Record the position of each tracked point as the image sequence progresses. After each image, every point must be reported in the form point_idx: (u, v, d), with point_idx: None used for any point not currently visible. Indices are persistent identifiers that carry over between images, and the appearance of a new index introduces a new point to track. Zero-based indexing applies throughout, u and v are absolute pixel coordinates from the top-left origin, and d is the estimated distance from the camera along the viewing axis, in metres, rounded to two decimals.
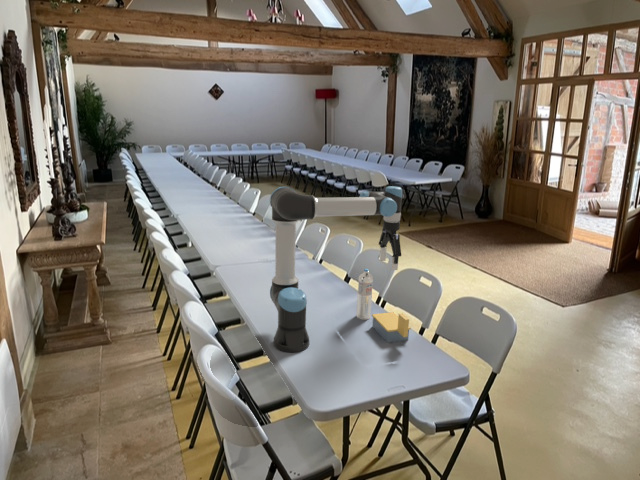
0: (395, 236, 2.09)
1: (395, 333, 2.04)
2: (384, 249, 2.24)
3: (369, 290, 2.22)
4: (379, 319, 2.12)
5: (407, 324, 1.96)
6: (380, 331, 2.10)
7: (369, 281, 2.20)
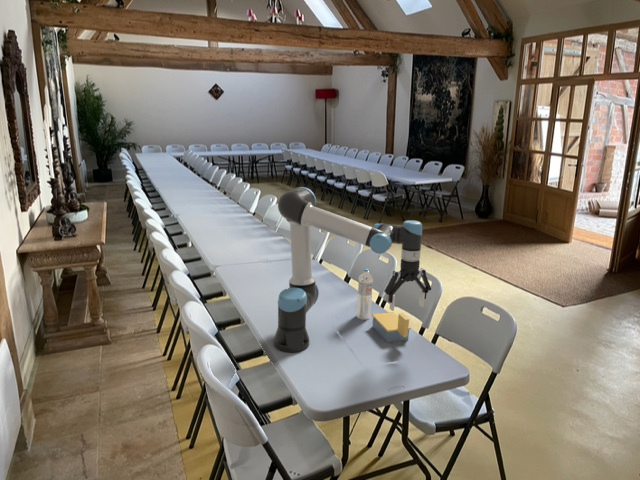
0: (393, 272, 1.91)
1: (395, 333, 2.04)
2: (421, 293, 1.96)
3: (369, 290, 2.22)
4: (379, 319, 2.12)
5: (407, 324, 1.96)
6: (380, 331, 2.10)
7: (369, 281, 2.20)
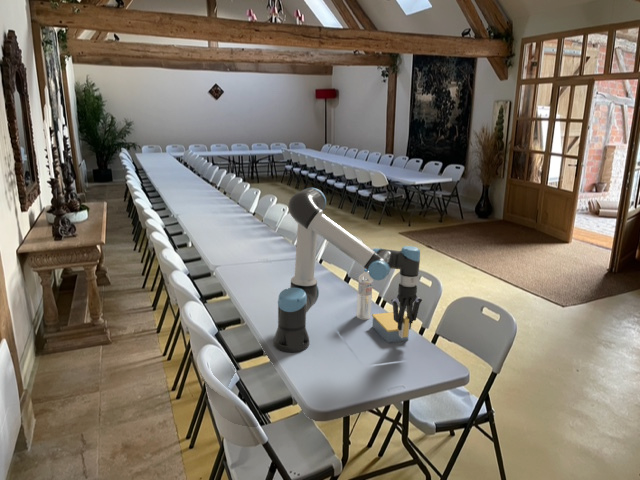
0: (392, 302, 1.94)
1: (395, 333, 2.04)
2: None
3: (369, 290, 2.22)
4: (379, 319, 2.12)
5: (407, 324, 1.96)
6: (380, 331, 2.10)
7: (369, 281, 2.20)
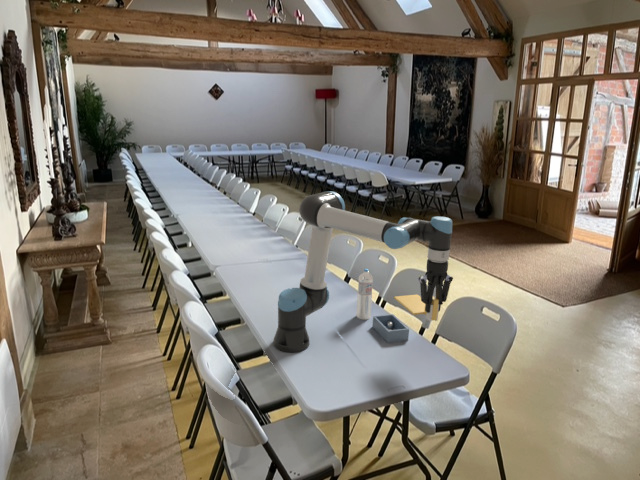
0: (419, 280, 1.71)
1: (395, 333, 2.04)
2: None
3: (369, 290, 2.22)
4: (403, 301, 1.89)
5: (436, 305, 1.74)
6: (380, 331, 2.10)
7: (369, 281, 2.20)
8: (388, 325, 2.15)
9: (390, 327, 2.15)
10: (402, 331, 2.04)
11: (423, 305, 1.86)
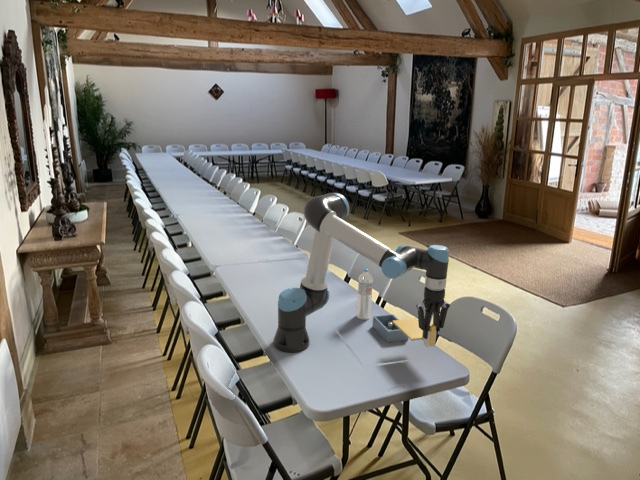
0: (417, 307, 1.74)
1: (395, 333, 2.04)
2: None
3: (369, 290, 2.22)
4: (401, 326, 1.92)
5: (434, 332, 1.76)
6: (380, 331, 2.10)
7: (369, 281, 2.20)
8: (389, 325, 2.15)
9: (391, 327, 2.15)
10: None
11: (421, 330, 1.89)
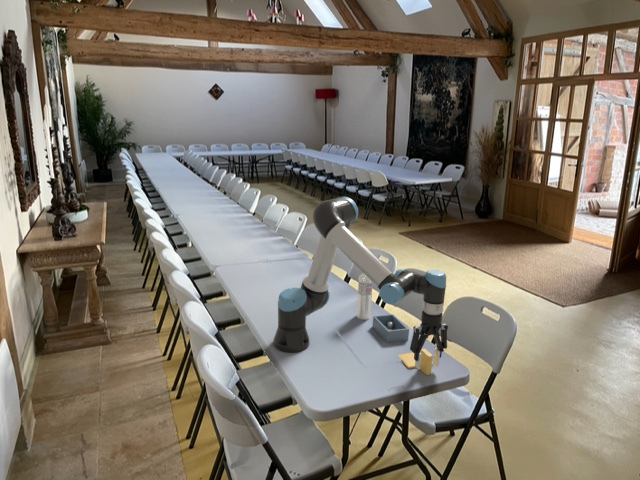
0: (414, 328, 1.76)
1: (395, 333, 2.04)
2: (436, 352, 1.81)
3: (369, 290, 2.22)
4: None
5: (430, 361, 1.79)
6: (380, 331, 2.10)
7: (369, 281, 2.20)
8: (389, 325, 2.15)
9: (391, 327, 2.15)
10: (402, 331, 2.04)
11: None
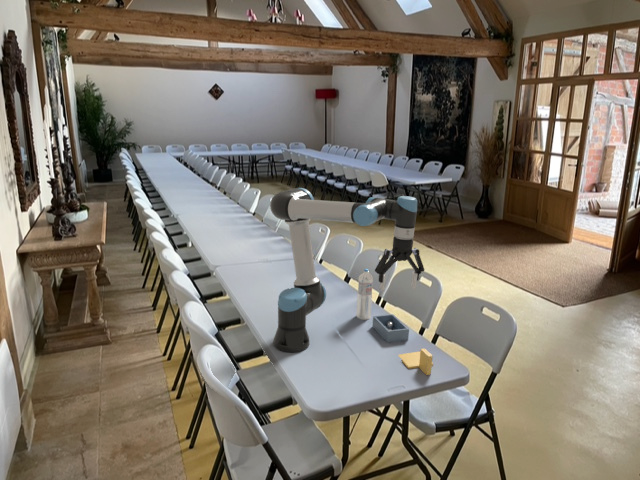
0: (385, 250, 1.80)
1: (395, 333, 2.04)
2: (414, 274, 1.86)
3: (369, 290, 2.22)
4: None
5: (430, 361, 1.79)
6: (380, 331, 2.10)
7: (369, 281, 2.20)
8: (390, 325, 2.15)
9: (392, 327, 2.15)
10: (402, 331, 2.04)
11: (418, 357, 1.92)
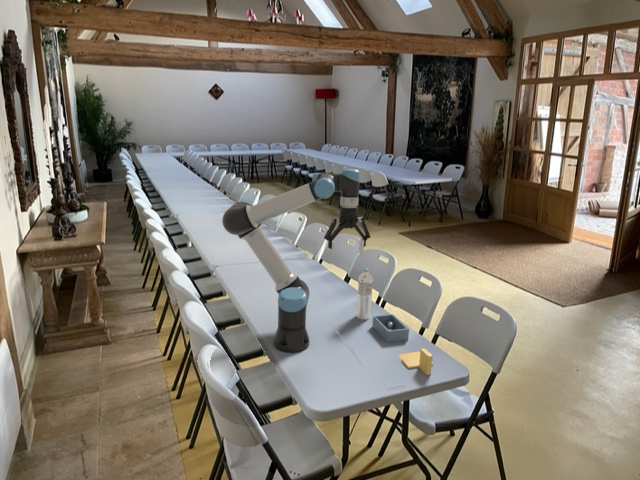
0: (332, 219, 1.98)
1: (395, 333, 2.04)
2: (361, 241, 2.03)
3: (369, 290, 2.22)
4: None
5: (430, 361, 1.79)
6: (380, 331, 2.10)
7: (369, 281, 2.20)
8: (391, 325, 2.15)
9: None
10: (402, 331, 2.04)
11: (418, 357, 1.92)
